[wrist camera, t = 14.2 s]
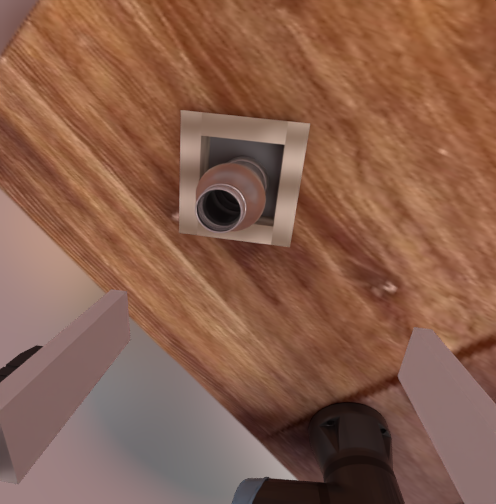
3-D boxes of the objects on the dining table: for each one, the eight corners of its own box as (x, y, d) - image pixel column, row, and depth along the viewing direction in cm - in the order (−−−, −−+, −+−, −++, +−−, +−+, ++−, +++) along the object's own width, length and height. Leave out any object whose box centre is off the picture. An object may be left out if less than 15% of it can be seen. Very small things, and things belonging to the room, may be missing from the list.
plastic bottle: (222, 154, 39) (172, 164, 21) (271, 156, 39) (265, 168, 20) (221, 201, 42) (176, 248, 23) (268, 203, 41) (260, 253, 23)
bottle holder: (288, 233, 43) (289, 247, 38) (191, 221, 44) (179, 232, 39) (305, 126, 38) (310, 123, 32) (194, 114, 39) (180, 110, 33)
